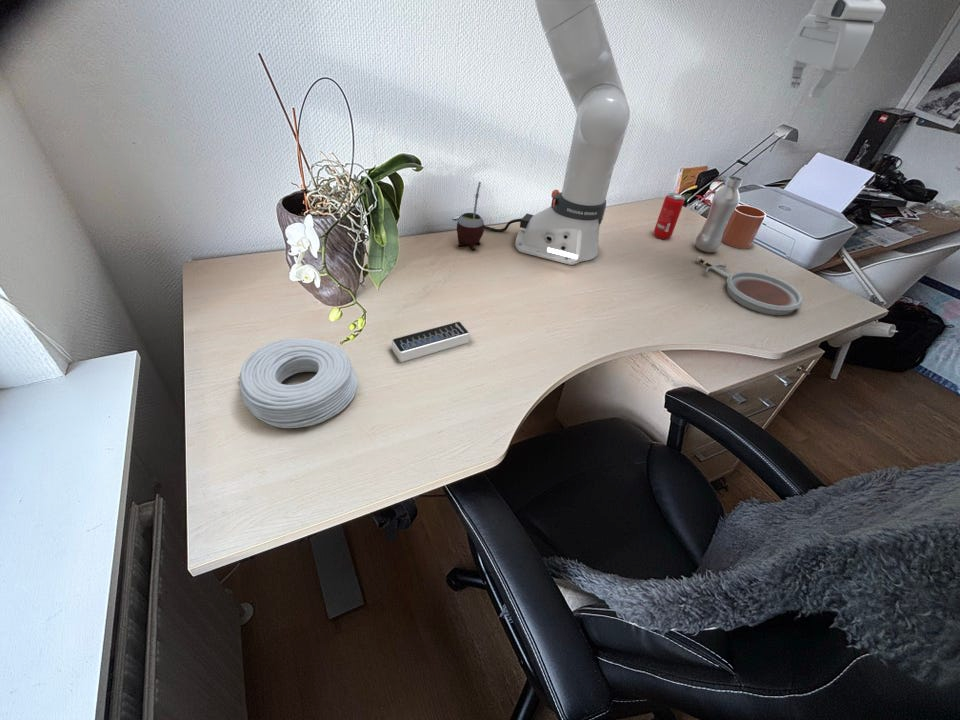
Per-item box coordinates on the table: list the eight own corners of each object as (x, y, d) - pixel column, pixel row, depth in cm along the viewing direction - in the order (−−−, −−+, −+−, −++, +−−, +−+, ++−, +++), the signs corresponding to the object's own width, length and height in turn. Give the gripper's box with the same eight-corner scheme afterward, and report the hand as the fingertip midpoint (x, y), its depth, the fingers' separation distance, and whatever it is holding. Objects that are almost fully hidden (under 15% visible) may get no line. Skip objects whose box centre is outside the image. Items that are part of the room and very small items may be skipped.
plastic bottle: (702, 255, 127) (733, 183, 114) (688, 244, 132) (716, 174, 119) (721, 254, 128) (754, 182, 115) (706, 243, 133) (736, 173, 120)
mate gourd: (461, 253, 117) (464, 195, 108) (450, 239, 123) (452, 183, 113) (488, 249, 120) (493, 193, 110) (476, 236, 125) (480, 181, 116)
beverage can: (649, 232, 136) (662, 192, 128) (663, 231, 137) (678, 192, 130) (659, 240, 132) (673, 199, 125) (674, 239, 134) (689, 199, 126)
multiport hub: (391, 348, 86) (390, 339, 85) (459, 329, 92) (459, 320, 91) (400, 362, 83) (399, 352, 82) (469, 342, 90) (470, 332, 88)
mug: (754, 242, 136) (769, 211, 130) (745, 251, 131) (761, 219, 125) (716, 229, 142) (729, 199, 136) (706, 237, 137) (719, 206, 130)
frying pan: (718, 247, 126) (819, 296, 108) (714, 257, 128) (812, 306, 110) (677, 259, 119) (778, 313, 101) (673, 269, 120) (772, 324, 103)
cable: (236, 376, 78) (226, 349, 74) (337, 347, 85) (333, 321, 81) (259, 448, 67) (248, 421, 63) (372, 408, 74) (369, 381, 70)
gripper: (798, 1, 91) (766, 81, 100) (853, 6, 75) (810, 101, 84) (830, 4, 91) (795, 84, 100) (892, 9, 75) (845, 103, 84)
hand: (802, 92), depth 92 cm, fingers open, 8 cm apart
